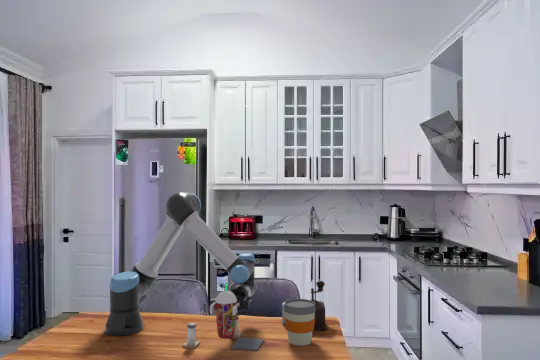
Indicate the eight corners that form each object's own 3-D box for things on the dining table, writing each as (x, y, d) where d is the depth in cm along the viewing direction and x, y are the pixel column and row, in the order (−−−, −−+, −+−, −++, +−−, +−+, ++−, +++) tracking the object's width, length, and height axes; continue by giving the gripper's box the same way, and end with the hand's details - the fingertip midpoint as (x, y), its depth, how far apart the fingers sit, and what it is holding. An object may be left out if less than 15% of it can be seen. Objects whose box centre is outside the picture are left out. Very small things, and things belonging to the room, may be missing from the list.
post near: (182, 347, 154) (182, 325, 154) (188, 342, 159) (188, 321, 159) (195, 348, 153) (195, 326, 153) (200, 343, 158) (200, 322, 158)
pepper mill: (327, 330, 172) (327, 288, 172) (301, 330, 172) (301, 287, 173) (324, 319, 187) (324, 279, 188) (300, 318, 188) (300, 279, 188)
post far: (226, 337, 164) (226, 317, 164) (230, 333, 169) (230, 313, 169) (238, 338, 163) (238, 318, 163) (241, 334, 168) (241, 314, 168)
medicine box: (300, 321, 184) (300, 302, 184) (299, 324, 179) (299, 305, 179) (282, 320, 185) (282, 301, 185) (282, 324, 180) (282, 304, 180)
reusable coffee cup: (289, 349, 152) (289, 308, 152) (279, 337, 164) (279, 299, 165) (320, 345, 156) (320, 306, 156) (309, 334, 168) (308, 297, 168)
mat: (231, 348, 153) (231, 346, 153) (239, 338, 163) (239, 337, 163) (257, 350, 151) (257, 348, 151) (263, 340, 161) (263, 339, 161)
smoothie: (235, 340, 150) (236, 286, 150) (213, 340, 150) (213, 286, 151) (238, 332, 158) (238, 280, 159) (216, 332, 159) (217, 280, 159)
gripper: (264, 305, 170) (249, 323, 147) (216, 302, 174) (195, 319, 152) (264, 287, 170) (249, 302, 148) (216, 284, 174) (195, 298, 152)
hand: (222, 310), depth 150 cm, fingers closed on smoothie, 8 cm apart
